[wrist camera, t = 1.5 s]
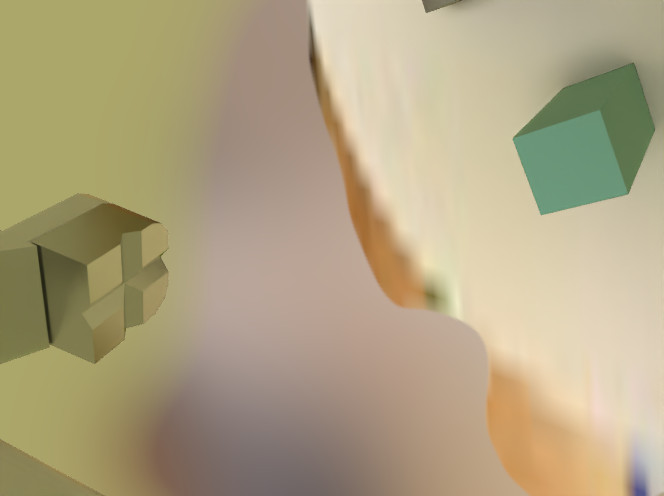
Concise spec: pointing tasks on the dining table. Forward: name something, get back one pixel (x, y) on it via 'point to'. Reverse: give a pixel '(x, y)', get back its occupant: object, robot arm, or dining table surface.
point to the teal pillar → (587, 141)
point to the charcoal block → (437, 4)
